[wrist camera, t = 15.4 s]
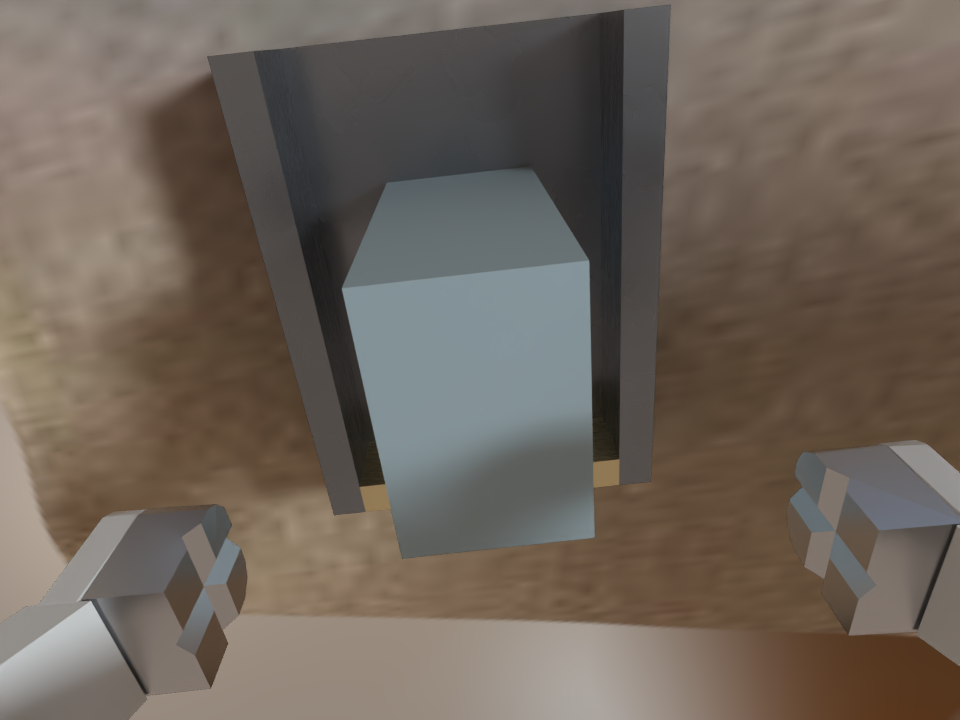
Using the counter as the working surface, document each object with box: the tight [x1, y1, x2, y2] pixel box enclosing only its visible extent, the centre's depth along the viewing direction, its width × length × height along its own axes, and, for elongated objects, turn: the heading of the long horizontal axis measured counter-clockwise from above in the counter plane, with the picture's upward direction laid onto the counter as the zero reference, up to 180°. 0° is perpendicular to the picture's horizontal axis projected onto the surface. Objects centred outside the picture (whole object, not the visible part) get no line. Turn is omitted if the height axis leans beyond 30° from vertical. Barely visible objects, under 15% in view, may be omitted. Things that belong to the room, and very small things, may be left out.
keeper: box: [207, 5, 671, 515], centre depth 18 cm, size 10×13×3 cm
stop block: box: [342, 166, 595, 559], centre depth 15 cm, size 4×6×8 cm, turn 6°
